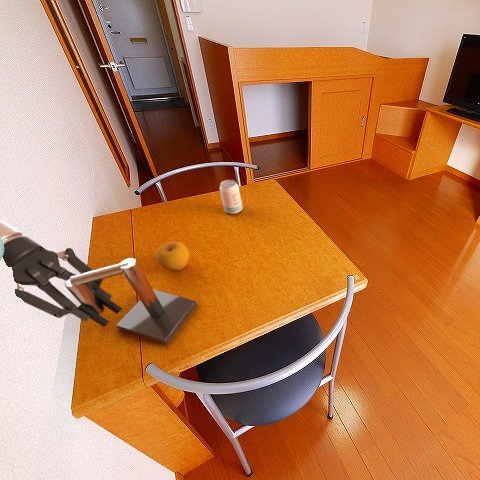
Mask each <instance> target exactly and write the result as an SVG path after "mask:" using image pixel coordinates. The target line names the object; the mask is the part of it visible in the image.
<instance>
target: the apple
mask: <svg viewBox="0 0 480 480" xmlns="http://www.w3.org/2000/svg"><path fill="white" fill-rule="evenodd" d="M154 258H155V261H156V263H157V264H159V265H160V266H161V267H162V268H164V269H166V270H170V271H180V270H182V269H184V268H185V267H186V265H187V263H188V262H189V259H190V252H189V248H188V247H187V246H186V245H185V244H184V243H183V242H179V241H168V242H165V243H163V244H161V245H160V246H159V247H158V248H157V250H156V252H155V256H154Z"/></svg>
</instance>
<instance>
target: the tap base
mask: <svg viewBox="0 0 480 480" xmlns="http://www.w3.org/2000/svg"><path fill="white" fill-rule="evenodd" d="M152 289H153V291H154V293H155V294H156V296H157V298H158V300H159V301H160V303H161V305H162V307H163V309H164V311H163V313H162V314H161V315H160V316H158V317H151V316H150V314H149V313H148V311H147V310H146V308H145V306H144V305H143V303H142V302H141V300H140V299H139V301H138V302H137V303H136V304H135V305H134V306H133V307H132V308H131V309H130V310H129V311H128V312H127V313H125V315H124V316H123V317H122V318H121V319H120V321H118V322H117V323H116V325H115V326H116V328H117V329H118V330H119V331H121V332H125V333H128V334H131V335H134V336H138V337H141V338H144V339H148V340H151V341H154V342H156V343H160V344H163V345H167V346H168V345H169V344H170V343H171V341H172V339H173V338H174V337H175V336H176V334H177V333H179V331H180V329H181V328H182V326H183V325H184V324H185V322H187V320H188V318H189V317H190V316H191V315H192V313H193V312H194V310H195V309H196V308H197V307H198V303H197V301H196V300H194V299H190V298H186V297H182V296H179V295H176V294H172V293H169V292H165V291H161V290H157V289H154V288H152Z"/></svg>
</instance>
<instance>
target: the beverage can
mask: <svg viewBox="0 0 480 480" xmlns="http://www.w3.org/2000/svg"><path fill="white" fill-rule="evenodd" d="M219 193H220V197H221V201H222V206H223V209H224V212H225V213H228V214H230V215H235V214H238V213H240V212H241V211H242V210H243V202H242V196H241V191H240V186H239V184H238V183H237V181H235V180H234V179H226V180H223V181H221V182H220V186H219Z"/></svg>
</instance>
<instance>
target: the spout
mask: <svg viewBox="0 0 480 480" xmlns="http://www.w3.org/2000/svg"><path fill="white" fill-rule="evenodd" d="M144 273H145V272H144V271H143V270H142V268H141V267H140V265H139V263H138V261H137V259H136V258H133V257H128V258H126V259H123V260H122V261H120V263H117V264H112V265H109V266H105V267H101V268H98V269H97V268H96V269H94V270H93V271H90V272H86V273H82V274H81V273H78V274H75V276H71V277H70V279H69V280H67V281H65V282H64V287H65V288H66V289H67V291H69V293H70V294H71V295H72V296H73V298H75V300H76V301H77V302H78V303H79V305H81V304H83V305H84V306H86V307H88V308H89V309H91V310H92V311H94V312H95V313H97V314H99V315H101V314H102V313H103V312H105V308H106V307H105V306H104V305H102V304H101V302H100V301H99V300H98V299H97V297H96V296H95V295H94V294H93V292H92V291H91V290H90V289H89V287H88V286H87V285H86V284H87V283H90V282H94V281H97V280H101V279H103V280H104V279H107V278H112V277H115V276H120V275H124V277H125V278H126V280H127V281H128V283H129V284H130V287H131V288H132V289H133V291H134V293H135V294H136V295H137V297H138V299H139V301H140V300H141V302H142V303H143V305H144V306H145V308H146V310H147V311H148V313H149V314H150V316H151V317H158V316H160V315H161V314H162V313H163V311H164V309H163V307H162V305H161V303H160V301H159V300H158V298H157V296H156V294H155V293H154V291H153V289H154V288H153V287H152V285H151V284H150V282H149V280H148V278H147V276H146V275H145V274H144Z"/></svg>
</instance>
